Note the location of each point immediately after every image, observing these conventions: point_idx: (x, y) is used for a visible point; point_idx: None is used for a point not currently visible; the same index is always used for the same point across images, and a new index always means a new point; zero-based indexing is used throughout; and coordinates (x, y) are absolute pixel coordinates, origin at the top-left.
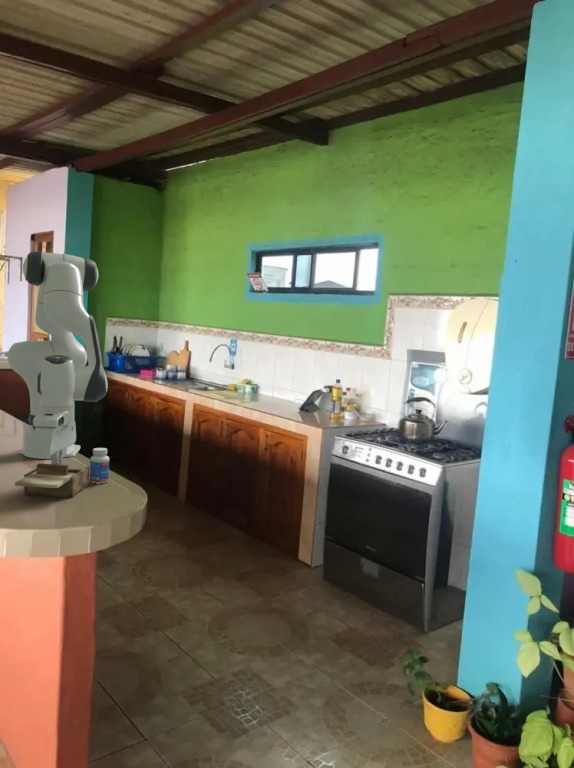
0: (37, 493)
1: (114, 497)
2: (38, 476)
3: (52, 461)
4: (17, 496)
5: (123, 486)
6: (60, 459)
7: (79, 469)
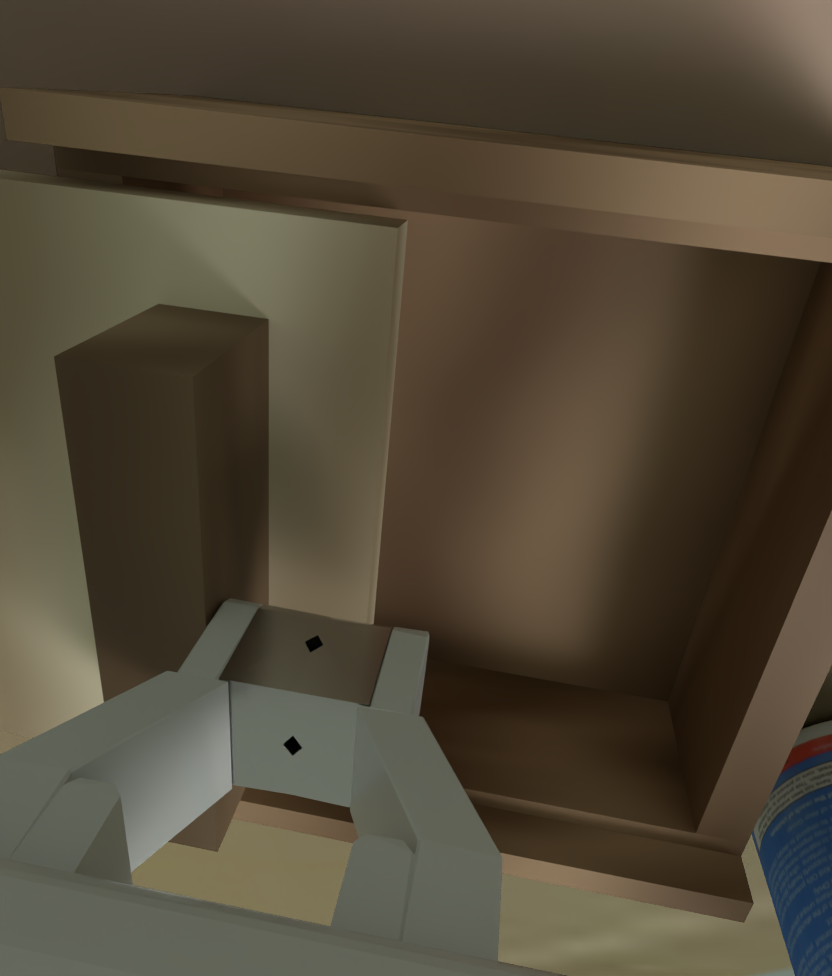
0: None
1: (295, 883)
2: (10, 384)
3: (187, 676)
4: (106, 21)
5: (642, 939)
6: (325, 801)
7: (769, 780)
